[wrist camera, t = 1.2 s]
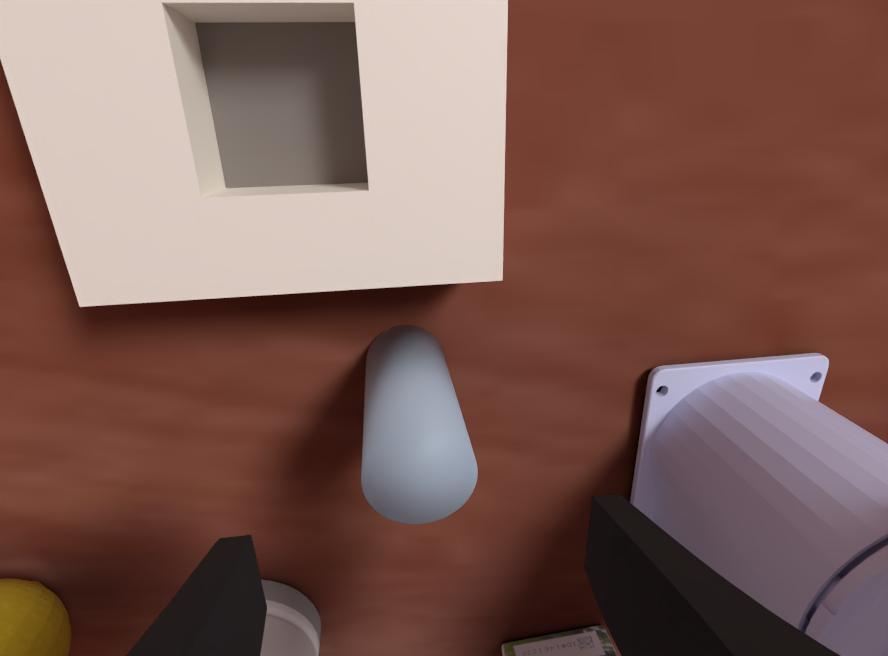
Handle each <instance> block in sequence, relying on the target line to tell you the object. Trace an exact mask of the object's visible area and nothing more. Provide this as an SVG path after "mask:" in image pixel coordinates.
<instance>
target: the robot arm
mask: <svg viewBox="0 0 888 656" xmlns="http://www.w3.org/2000/svg"><path fill="white" fill-rule="evenodd" d="M828 366H829V360H828V358H827V357H825V356H823V355H821V354H819V353H808V354H796V355H784V356H773V357H761V358H749V359H737V360H725V361H713V362H702V363H690V364H678V365H666V366H659V367H656V368H654V369H653V370H652V371H651V372H650V374H649V376H648V381H647V388H646V395H645V402H644V409H643V416H642V423H641V430H640V437H639V444H638V451H637V458H636V465H635V472H634V478H633V485H632V492H631V499H630V502H629V501H628V500H626V499H625V498H624V497H623V496H621V495H620V494H610V495H602V496H593V497H592V502H591V512H590V521H589V530H588V539H587V549H586V558H585V570H586V573H587V575H588V578H589V581H590V584H591V587H592V590H593V593H594V595H595V598H596V601H597V603H598V606H599V609H600V611H601V614H602V616H603V618H604V621H605V623H606V625H607V627H608V629H609V631H610V633H611V635H612V637H613V639H614V641H615V643H616V645H617V647H618V649H619V651H620V654H621V656H888V444H887V443H885V442H884V441H882V440H880V439H879V438H877V437H875V436H874V435H872V434H871V433H869V432H867V431H866V430H864V429H862V428H861V427H859V426H857V425H856V424H854V423H853V422H851V421H849V420H848V419H846V418H844V417H843V416H841V415H840V414H838V413H836V412H835V411H833V410H831V409H830V408H828V407H826V406H825V405H823V404H822V403H820V402H818V400H819V397H820V393H821V390H822V387H823V383H824V380H825V376H826V373H827V370H828ZM812 374H813V376H812ZM660 386H663V388H662V389H661V390H660V391H659V392H656V391H657V389H658V388H659V387H660ZM266 613H267V604H266V600H265V595H264V591H263V586H262V582H261V577H260V573H259V568H258V564H257V559H256V555H255V550H254V546H253V541H252V537H251V535H246V536H237V537H228V538H220V539H219V540H218V541H217V542H216V543H215V544H214V546H213V547H212V548H211V550H210V551H209V552H208V553H207V555H206V556H205V557H204V559H203V560H202V561H201V563H200V564H199V565H198V567H197V568H196V569H195V571H194V572H193V573H192V574H191V576H190V577H189V578H188V580H187V581H186V582H185V584H184V585H183V586H182V587H181V589H180V590H179V591H178V593H177V594H176V595H175V596H174V598H173V599H172V600H171V602H170V603H169V604H168V605H167V607H166V608H165V609H164V610H163V612H162V613H161V614H160V615H159V616H158V618H157V619H156V620H155V621H154V623H153V624H152V625H151V626H150V628H149V629H148V630H147V631H146V633H145V634H144V635H143V636H142V637H141V639H140V640H139V641H138V642H137V644H136V645H135V646H134V647H133V648H132V650H131V651H130V652H129V653H128V654H127V655H126V656H260V654H261V648H262V641H263V634H264V627H265V620H266Z"/></svg>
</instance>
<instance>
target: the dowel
mask: <svg viewBox="0 0 888 656" xmlns="http://www.w3.org/2000/svg"><path fill="white" fill-rule="evenodd" d="M477 475H478V469H477V463H476V459H475V456H474V453H473V449H472V446H471V443H470V440H469V436H468V433H467V430H466V426H465V423H464V420H463V417H462V413H461V410H460V407H459V403H458V400H457V397H456V394H455V390H454V387H453V384H452V380H451V377H450V374H449V371H448V367H447V364H446V361H445V357H444V354H443V351H442V348H441V346H440V344H439V342H438V341H437V339H436V338H435V337H434V336H433V335H432V334H431V333H429V332H428V331H426V330H424V329H422V328H420V327H416V326H410V325H402V326H396V327H392V328H390V329H388V330H386V331H384V332H382V333H381V334H380V335H378V336H377V337H376V338H375V340H374V341H373V342H372V344H371V345H370V347H369V349H368V352H367V357H366V376H365V400H364V425H363V450H362V475H361V483H362V489H363V493H364V495H365V498H366V499H367V501H368V503H369V504H370V505H371V506H372V508H374V509H375V510H376V511H377V512H378V513H380V514H381V515H382V516H384V517H386V518H388V519H391V520H393V521H396V522H400V523H406V524H424V523H430V522H433V521H437V520H440V519H442V518H445V517H447V516H449V515H450V514H452V513H454V512H455V511H457V510H458V509H459V508H460V507H461V506H462V505H463V504H464V503H465V502H466V501H467V500H468V498H469V497H470V496H471V494H472V492H473V490H474V488H475V485H476V482H477Z"/></svg>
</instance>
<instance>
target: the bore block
mask: <svg viewBox="0 0 888 656" xmlns="http://www.w3.org/2000/svg"><path fill="white" fill-rule="evenodd" d="M507 19H508V0H0V60H1V63H2V66H3V69H4V72H5V75H6V78H7V81H8V85H9V88H10V91H11V94H12V97H13V100H14V103H15V106H16V110H17V113H18V116H19V119H20V122H21V125H22V128H23V131H24V135H25V138H26V141H27V144H28V147H29V150H30V153H31V156H32V160H33V163H34V166H35V169H36V172H37V175H38V178H39V181H40V185H41V188H42V191H43V194H44V197H45V200H46V203H47V206H48V210H49V213H50V216H51V219H52V222H53V225H54V228H55V231H56V235H57V238H58V241H59V244H60V247H61V250H62V253H63V257H64V260H65V263H66V266H67V269H68V272H69V275H70V278H71V282H72V285H73V288H74V291H75V294H76V297H77V300H78V303H79V307H86V306H102V305H118V304H134V303H150V302H166V301H182V300H198V299H214V298H230V297H246V296H262V295H278V294H294V293H310V292H326V291H342V290H358V289H374V288H390V287H406V286H422V285H438V284H454V283H470V282H486V281H502V280H503V229H504V176H505V124H506V71H507Z"/></svg>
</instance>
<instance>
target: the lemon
mask: <svg viewBox="0 0 888 656" xmlns="http://www.w3.org/2000/svg"><path fill="white" fill-rule="evenodd" d="M70 644H71V626H70V620H69V616H68V612H67V610H66V609H65V607H64V605H63V603H62V602H61V600H60V599H59V598H58V597H57V596H56V595H55V594H54V593H53V592H52V591H50V590H49V589H47V588H46V587H44V586H43V584H42V583H40V582H38V581H27V580H22V579H11V578H4V579H0V656H68V654H69V649H70Z"/></svg>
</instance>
